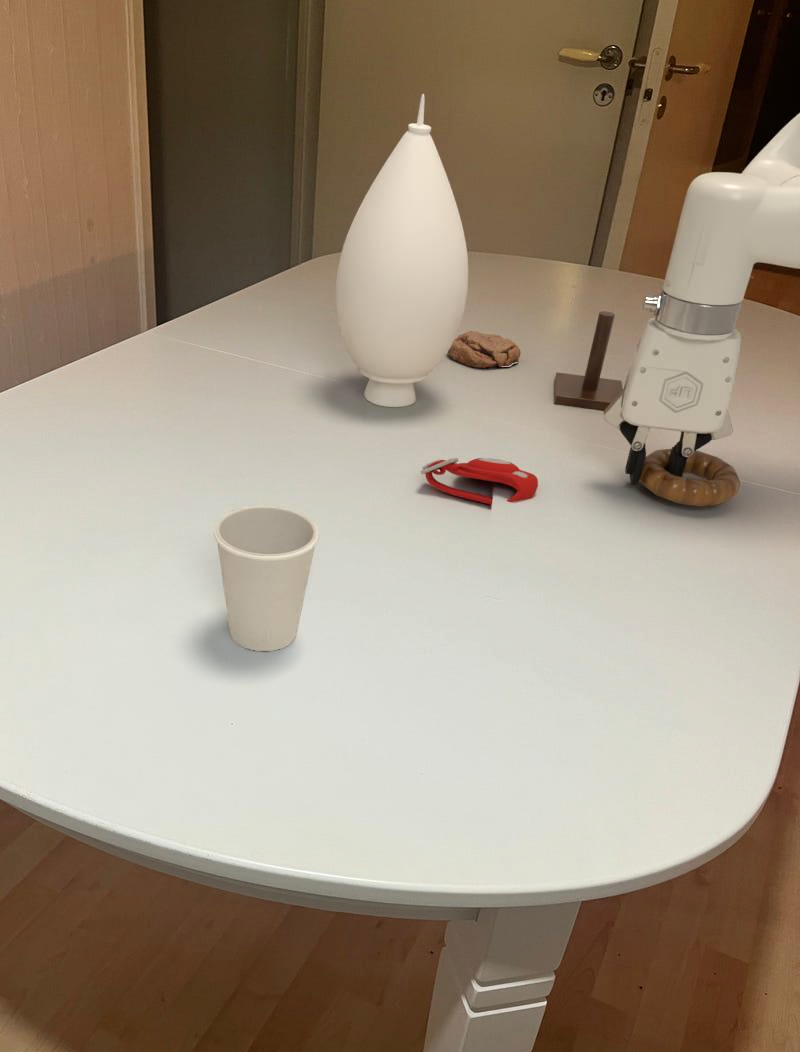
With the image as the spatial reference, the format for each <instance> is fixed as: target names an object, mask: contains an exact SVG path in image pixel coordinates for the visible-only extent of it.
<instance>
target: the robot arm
mask: <svg viewBox="0 0 800 1052" xmlns="http://www.w3.org/2000/svg"><path fill="white" fill-rule="evenodd" d="M756 263H762V264H769V265H776V266H781V267H786V268H790V269H791V268H792V269H800V112H799V113H798V114H796V116H794V117H793V118H792V119H791V120H789V122H788V123H786V124H785V125H784V126H783V127H782V128H781V129H780V130H779V131H778V132H777V133H776V134H775V136H773V138H772V139H770V141H768V143H767V144H766V145H765V146H763V148H762V149H761V150H760V151H759V152H758V153H757V155H755V157H754V158H753V159H752V160H751V161H750V162H749V163H748V164H747V166H746V167H745V168H744V170H742V172H741V173H739V172H726V171H725V172H724V171H723V172H722V171H714V172H711V171H710V172H705V173H702V174H700V175H698V176H697V177H695V178H694V179H693V180H692V181H691V183H690V184H689V186H688V188H687V191H686V194H685V197H684V202H683V206H682V210H681V214H680V217H679V221H678V225H677V228H676V234H675V237H674V242H673V245H672V249H671V252H670V257H669V262H668V266H667V269H666V273H665V277H664V280H663V286H662V287H660V292H657V294H656V295H655V294H653V295H652V296H651V295H645V297H644V298H643V299H644V300H643V302H642V303H643V304H642V310H643V311H649V313H653V316H655V317H651V318H649V319H648V321H647V322H646V324H645V326H644V328H643V331H642V333H641V335H640V338H639V340H638V342H637V345H636V348H635V351H634V353H633V357H632V359H631V362H630V366H629V368H628V371H627V375H626V378H625V382H624V384H623V387H622V388H623V390H622V391H621V392H620V393H619V394H618V395H617V397H616V398H615V399H614V400H613V401H612V402H611V403H610V405H609V406H608V407H607V408H606V409H605V410H603V420H604V421H605V422H606V423H608V424H610V425H611V426H612V427H614V428H615V429H618V430H619V431H620V433H621V434H622V435H623V437H624V438H625V440H626V441H627V443H628V444H629V445H630V448H629V451H628V456H627V459H626V463H625V469H624V473H625V474H626V475H629V482H630V486H635V487H636V486H637V485H639V483H640V476H641V472H642V468H643V465H644V461H645V457H646V456H647V450H646V441H647V438H648V435H649V432H650V431H651V429H656V430H657V429H658V430H665V431H666V430H667V431H674V432H680V433H679V439H678V441H677V442H676V443H675V444H674V446H671V449H672V450H671V453H670V457H669V460H668V464H667V468H666V471H668V472H669V473H670V474H673V475H676V476H679V477H682V478H683V476H684V473H683V472H684V469H685V465H686V462H687V459H688V457H690V456H691V455H692V454H693V452H694V451H698V450H699V449H701V448H702V447H704V446H706V445H707V444H709V443H710V442H711V441H715V440H719V439H722V438H725V437H728V436H730V435H731V436H732V434H733V433H734V428H733V424H732V421H731V417H730V414H729V410H728V409H729V406H730V401H731V396H732V393H733V389H734V385H735V380H736V374H737V370H738V366H739V365H738V364H739V360H740V359H739V358H740V352H741V346H742V345H741V344H742V335H741V333H740V332H739V331H738V329H736V328H735V327H736V324H737V322H738V318H739V314H740V312H741V307H742V304H743V302H744V301H743V300H744V297H745V295H746V291H747V288H748V285H749V281H750V277H751V274H752V271H753V268H754V265H755V264H756ZM621 412H622V413H621Z"/></svg>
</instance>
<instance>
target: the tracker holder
mask: <svg viewBox="0 0 800 1052" xmlns="http://www.w3.org/2000/svg"><path fill="white" fill-rule="evenodd" d="M458 462H459V458H458V457H454V458H449V459H447V460H446V459H437V460H434V461H431V462H429V463H426V464H424V465H423V466H422V467H421V470H420V474H421V475H425V479H426V481H427V483H428V484H429V485H431V486H432V487H433V488H435V489H437V490H439V491H441V492H444V493H446V494H449V495H452V496H454V497H459V498H463V499H467V500H471V501H475V502H479V503H484V504H488V505H493V500H494V498H493V496H490V495H485V494H482V493H477V492H473V491H470V490H469V491H468V490H464V489H460V488H457V487H456V488H455V487H453V486H449V485H447V484H445V483H442V482H440V481H438V480H437V479H436V478H435V477H434V475H436V476H443V475H444V474H446V472H448V473H450V474H453V475H455V476H460V477H464V478H469V479H474V480H475V479H476V480H481V481H488V482H494V483H501V484H504V485H508V486H509V487H512V488H513V489H515V490H516V493H515V494H514V495H513V496H511V497H510V498H508V499H507V500H506V502H508V503H517V502H521V501H526V500H530V499H533V497H534V496H535V494H536V492H537V490H538V487H539V479H538V477H537V476H536V475H535V474H533V473H531V472H528V471H525V470H522V469H520V468H519V466H517V465H516V464H515V463H512V462H510V461H507V460H503V459H499V458H492V457H490V458H489V457H487V458H484V457H483V458H482V457H479V458H474V459H471V460H469V461H468V462H459V463H458ZM433 474H434V475H433Z"/></svg>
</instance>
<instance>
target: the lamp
mask: <svg viewBox="0 0 800 1052" xmlns="http://www.w3.org/2000/svg"><path fill="white" fill-rule="evenodd" d="M425 98H426V97H425V93H422V94H421V96H420V101H419V107H418V113H417V119H416V123H409V124H408V125H407V129H408V130H407V131H406V132H405V133H404V134H403V135H402V136H401V138H400V139H399V141H398V143H397V144H396V146H395V147H394V149H393V150H392V152H391V153H390V155H389V156H388V158H387V159H386V160H385V162H384V164H383V166H382V167H381V168H380V170H379V172H378V174H377V175H376V178H375V179H374V180H373V182H372V183H371V185H370V187H369V189H368V190H367V192H366V194H365V195H364V198H363V199H362V202H361V203H360V205H359V207H358V210H357V212H356V214H355V216H354V217H353V221H352V222H351V224H350V227H349V229H348V232H347V234H346V237H345V240H344V242H343V246H342V249H341V253H340V257H339V263H338V266H337V267H338V268H337V271H336V272H337V274H336V283H335V309H336V315H337V316H336V317H337V322H338V326H339V331H340V335H341V338H342V341H343V344H344V346H345V348H346V352H347V353H348V355H349V357H350V360H352V362H353V363H354V365H356V367H357V368H356V369H357V370H358V372H359V373H360V374H361V375H362V376H364V377H366V378H368V381H367V384H366V387H365V389H364V391H363V396H364V399H365V400H366V401H368V402H369V403H370V404H373V405H376V406H380V407H383V408H384V407H385V408H403V407H408V406H411V405H413V404H415V402H416V401H417V400H416V399H417V398H416V391H415V384H414V383H418V382H421V381H424V380H425V379H427V377H428V375H429V373H432V372H433V371H434V370H435V369H436V368H437V367H438V366H439V365H440V363H441V362H442V361H443V360H444V358H445V357H446V355H447V354H448V350H449V349H450V347H451V345H452V343H453V341H454V339H456V338H457V336H458V333H459V330H460V327H461V324H462V321H463V318H464V314H465V309H466V305H467V297H468V288H469V287H468V286H469V258H468V257H469V256H468V249H467V241H466V236H465V231H464V226H463V223H462V219H461V218H462V217H461V215H460V212H459V211H460V210H459V208H458V205H457V201H456V199H455V195H454V191H453V189H452V186H451V183H450V180H449V178H448V175H447V173H446V170H445V167H444V165H443V161H442V159H441V157H440V154H439V152H438V149H437V146H436V143H435V141H434V139H433V137H432V135H431V132H432V127H431V126H430V125H428V124H424V123H425V122H424V120H425Z"/></svg>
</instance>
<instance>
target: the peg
mask: <svg viewBox="0 0 800 1052" xmlns="http://www.w3.org/2000/svg"><path fill="white" fill-rule="evenodd" d="M615 317H616V314H615V313H613V312H612V311H606V310H605V311H604V310H603V311H599V313H598V317H597V321H596V325H595V330H594V334H593V339H592V343H591V346H590V347H591V348H590V352H589V355H588V360H587V364H586V368H585V373H584V375H582V374H580V375H579V374H573V373H565V372H556V373H555V376H554V404H555V405H560V406H561V405H562V406H568V407H575V408H584V409H592V410H598V411H604V410H605V409H606V408H607V407H608V406H609V405H610V403H611V402H612V401H613V400H614V399H615V398H616V397H617V395H618V394H619V393H620V392H621V391H622V390H623V388H624V387H623V383H622V380H620V379H613V378H612V379H611V378H603V377H601V374H602V371H603V366H604V362H605V358H606V354H607V350H608V347H609V342H610V338H611V333H612V329H613V325H614V321H615ZM621 414H622V412H621Z"/></svg>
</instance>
